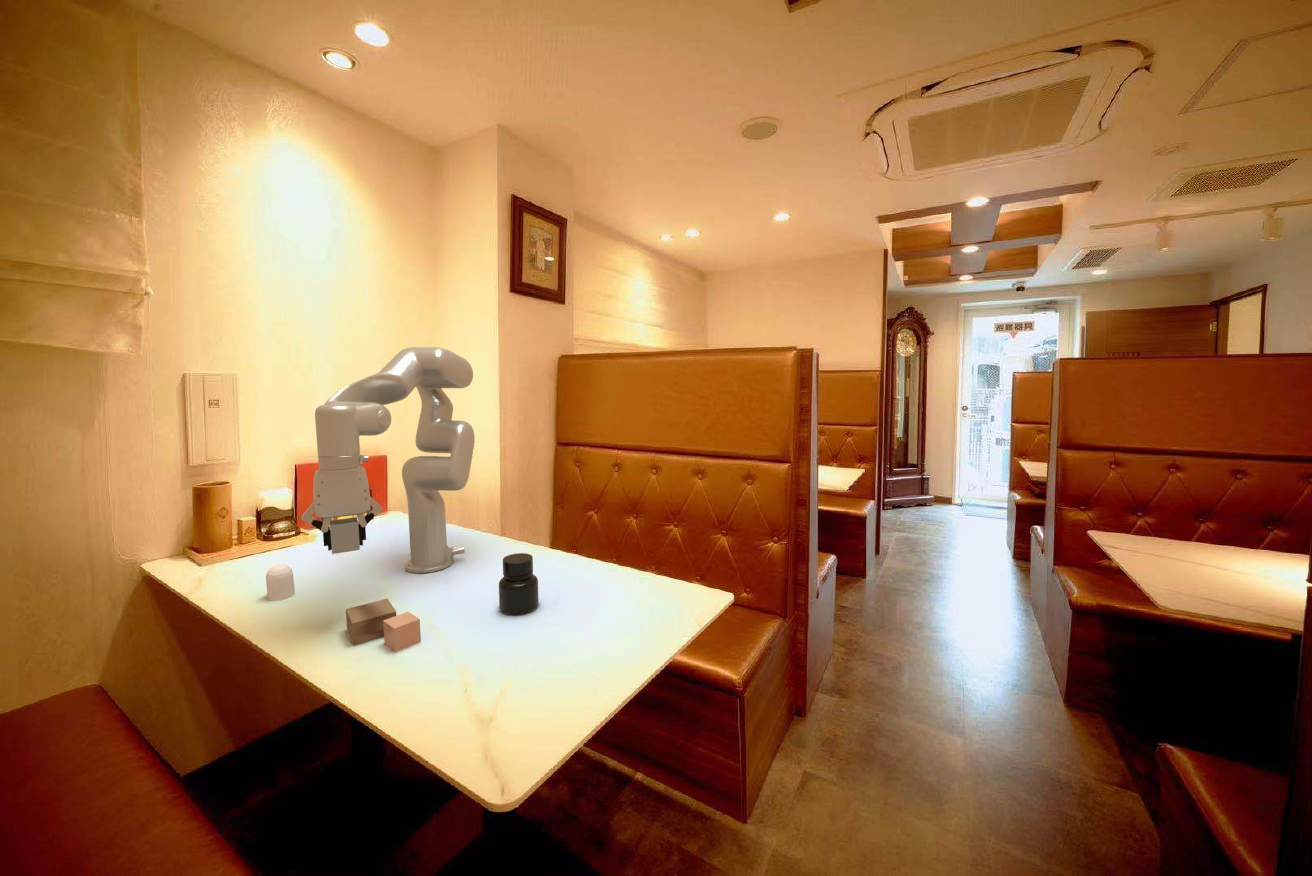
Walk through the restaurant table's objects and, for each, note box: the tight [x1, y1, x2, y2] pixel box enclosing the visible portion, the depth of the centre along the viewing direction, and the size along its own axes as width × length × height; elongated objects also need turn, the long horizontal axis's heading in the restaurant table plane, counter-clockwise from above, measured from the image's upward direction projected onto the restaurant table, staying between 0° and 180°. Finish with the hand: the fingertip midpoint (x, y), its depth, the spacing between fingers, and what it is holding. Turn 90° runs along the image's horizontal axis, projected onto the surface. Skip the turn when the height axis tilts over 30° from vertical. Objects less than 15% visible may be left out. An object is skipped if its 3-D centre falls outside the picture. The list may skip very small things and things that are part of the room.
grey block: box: [329, 516, 361, 555], centre depth 106 cm, size 5×5×6 cm
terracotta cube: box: [383, 611, 422, 653], centre depth 100 cm, size 5×5×5 cm
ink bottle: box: [498, 552, 540, 616], centre depth 115 cm, size 10×9×12 cm
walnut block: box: [345, 598, 398, 647], centre depth 104 cm, size 8×8×5 cm
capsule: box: [265, 563, 296, 602], centre depth 120 cm, size 5×5×8 cm
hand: (345, 545), depth 106 cm, fingers closed on grey block, 5 cm apart
